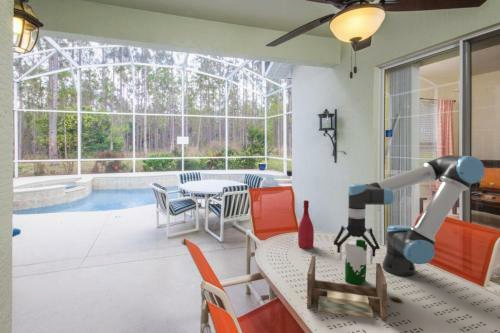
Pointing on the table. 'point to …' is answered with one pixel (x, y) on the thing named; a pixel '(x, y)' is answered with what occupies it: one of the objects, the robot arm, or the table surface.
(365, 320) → the table surface
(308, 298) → the walnut rack
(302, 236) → the wine bottle
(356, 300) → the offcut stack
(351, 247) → the soya milk
